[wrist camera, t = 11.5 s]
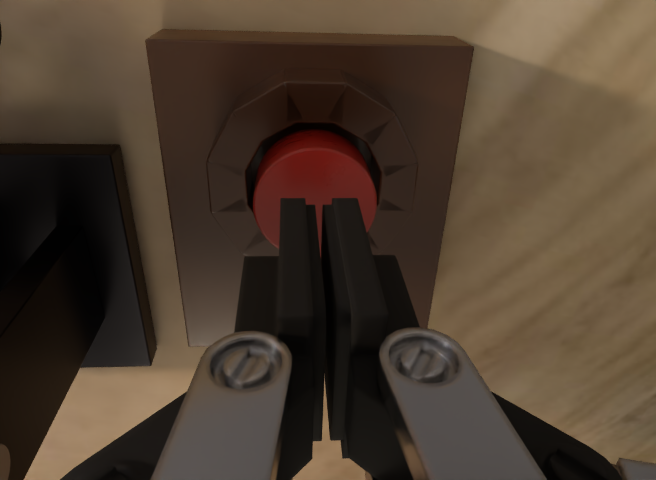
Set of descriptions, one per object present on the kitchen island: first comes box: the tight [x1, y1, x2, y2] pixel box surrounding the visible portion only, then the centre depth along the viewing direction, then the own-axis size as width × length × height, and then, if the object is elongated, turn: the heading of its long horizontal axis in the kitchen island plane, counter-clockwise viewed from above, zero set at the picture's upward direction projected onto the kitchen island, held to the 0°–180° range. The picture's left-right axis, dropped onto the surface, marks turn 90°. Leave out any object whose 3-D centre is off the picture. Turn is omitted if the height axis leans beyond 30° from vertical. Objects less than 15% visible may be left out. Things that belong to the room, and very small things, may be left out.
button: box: [253, 129, 377, 257], centre depth 15 cm, size 4×4×2 cm
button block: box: [145, 29, 474, 347], centre depth 18 cm, size 12×10×4 cm
